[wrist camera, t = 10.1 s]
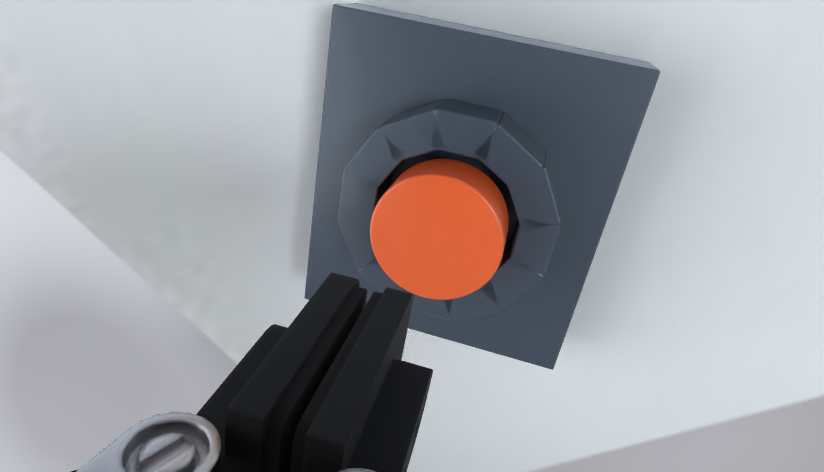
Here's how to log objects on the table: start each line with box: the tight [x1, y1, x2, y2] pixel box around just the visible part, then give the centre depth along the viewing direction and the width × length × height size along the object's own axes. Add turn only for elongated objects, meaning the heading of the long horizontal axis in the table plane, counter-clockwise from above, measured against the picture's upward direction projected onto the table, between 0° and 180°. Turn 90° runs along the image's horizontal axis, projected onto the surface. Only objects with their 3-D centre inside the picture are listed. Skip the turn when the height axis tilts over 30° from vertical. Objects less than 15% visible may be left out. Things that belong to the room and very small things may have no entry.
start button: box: [370, 159, 509, 300], centre depth 17 cm, size 4×4×2 cm
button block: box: [305, 3, 660, 369], centre depth 19 cm, size 11×10×4 cm
